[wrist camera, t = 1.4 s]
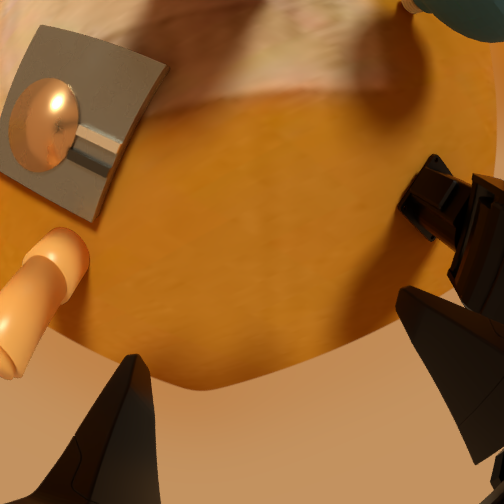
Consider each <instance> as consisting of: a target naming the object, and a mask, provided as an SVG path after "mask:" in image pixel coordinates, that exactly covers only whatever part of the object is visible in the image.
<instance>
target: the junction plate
mask: <svg viewBox="0 0 504 504" xmlns="http://www.w3.org/2000/svg"><path fill="white" fill-rule="evenodd" d="M169 69H170V68H169V67H168V66H167V65H166V64H163V63H161V62H159V61H156V60H154V59H152V58H149V57H147V56H144V55H142V54H139V53H137V52H134V51H131V50H129V49H126V48H123V47H120V46H118V45H115V44H112V43H109V42H106V41H103V40H99V39H96V38H93V37H90V36H86V35H83V34H79V33H75V32H71V31H67V30H63V29H59V28H55V27H50V26H45V25H40V27H39V28H38V30H37V32H36V34H35V35H34V37H33V39H32V41H31V43H30V45H29V47H28V49H27V51H26V53H25V55H24V57H23V59H22V61H21V64H20V66H19V68H18V70H17V73H16V75H15V78H14V80H13V83H12V85H11V88H10V90H9V93H8V96H7V99H6V102H5V105H4V108H3V111H2V114H1V118H0V172H2V173H4V174H5V175H7V176H9V177H10V178H12V179H14V180H15V181H17V182H19V183H20V184H22V185H24V186H26V187H27V188H29V189H31V190H33V191H34V192H36V193H38V194H40V195H41V196H43V197H45V198H47V199H49V200H50V201H52V202H54V203H56V204H58V205H59V206H61V207H63V208H65V209H67V210H69V211H70V212H72V213H74V214H76V215H78V216H80V217H82V218H84V219H86V220H87V221H89V222H91V223H92V222H93V221H94V220H95V218H96V217H97V216H98V215H99V213H100V210H101V207H102V205H103V202H104V199H105V197H106V194H107V191H108V189H109V186H110V184H111V181H112V179H113V176H114V174H115V171H116V169H117V167H118V164H119V162H120V160H121V158H122V155H123V153H124V151H125V149H126V147H127V145H128V143H129V140H130V138H131V136H132V134H133V132H134V130H135V128H136V126H137V124H138V123H139V121H140V119H141V117H142V115H143V113H144V111H145V109H146V108H147V106H148V104H149V102H150V100H151V99H152V97H153V95H154V94H155V92H156V90H157V88H158V87H159V85H160V84H161V82H162V80H163V79H164V77H165V75H166V74H167V72H168V71H169Z"/></svg>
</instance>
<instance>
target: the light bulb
mask: <svg viewBox="0 0 504 504" xmlns="http://www.w3.org/2000/svg"><path fill="white" fill-rule="evenodd" d="M401 2H402V5H403V6H404V8H405V9H406V10H407V11H408V12H410V13H412V14H416V13H419V12H423V11H424V12H426V13H433V14H434V15H435V16H436V17H437V18H438V19H439V20H440V21H442V22H443V23H444V24H446V25H447V26H448V27H450V28H451V29H453V30H454V31H456V32H458V33H460V34H462V35H464V36H466V37H468V38H471V39H474V40H478V41H481V42H488V43H495V42H504V0H402V1H401Z"/></svg>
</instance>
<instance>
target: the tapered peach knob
mask: <svg viewBox="0 0 504 504" xmlns="http://www.w3.org/2000/svg"><path fill="white" fill-rule="evenodd" d="M89 263H90V257H89V252H88V249H87V247H86V245H85V243H84V242H83V240H82V239H81V238H80V237H79V236H78V235H77V234H76V233H75V232H73V231H72V230H70V229H67V228H62V227H59V228H55V229H53V230H51V231H50V232H49V233H48V234H47V235H46V236H44V237H43V238H42V239H41V240H40V241H39V242H38V243H37V244H36V245H35V246H34V247H33V248H32V249H31V250H30V251H29V252H28V253H27V254H26V255H25V257H24V259H23V262H22V267H21V268H20V269H19V270H18V271H17V272H16V274H15V275H14V276H13V277H12V278H11V279H10V281H9V282H8V283H7V284H6V285H5V287H4V288H3V289H2V290H1V291H0V377H2V378H4V379H7V380H12V379H13V378H21V377H22V376H23V374H24V372H25V369H26V367H27V365H28V363H29V361H30V359H31V357H32V355H33V353H34V351H35V348H36V347H37V345H38V343H39V341H40V339H41V337H42V335H43V333H44V332H45V330H46V328H47V326H48V324H49V323H50V321H51V319H52V317H53V316H54V314H55V312H56V310H57V309H58V307H59V305H62V304H64V303H66V302H67V301H68V300H69V298H70V297H71V295H72V294H73V292H74V290H75V289H76V287H77V285H78V284H79V282H80V281H81V279H82V278H83V276H84V274H85V273H86V271H87V270H88V267H89Z"/></svg>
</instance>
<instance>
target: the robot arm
mask: <svg viewBox="0 0 504 504" xmlns="http://www.w3.org/2000/svg"><path fill="white" fill-rule="evenodd" d="M403 206H405V207H404V209H403ZM398 210H399V211H400V212H401V213H402V214H403V215H404V216H405V217H406V218H407V219H408V220H409V221H410V222H411V223H412V224H413V225H414V226H415V227H416V228H417V229H418V230H419V231H420V232H421V233H422V234H423V235H424V236H425V237H426V238H427V239H428V240H429V241H430V242H432V241H434V240H435V238H436V237H437V238H438V239H439V240H441V241H442V242H443V243H444V244H446V245H447V246H448V247H449V248H451V249H452V250H453V251H454V252H455V255H454V258H453V261H452V264H451V267H450V268H449V270H448V273H447V276H448V278H449V280H450V281H451V283H452V285H453V287H454V288H455V290H456V292H457V294H458V296H459V298H460V300H461V302H462V303H463V305H464V307H465V308H464V307H461V306H459V305H457V304H454V303H452V302H450V301H447V300H445V299H442V298H440V297H438V296H435V295H433V294H430V293H428V292H425V291H423V290H420V289H418V288H416V287H413V286H410V285H409V286H405V287H403V288H401V289H400V290H399V293H398V297H397V301H396V306H395V308H396V312H397V314H398V316H399V318H400V320H401V322H402V324H403V326H404V327H405V330H406V332H407V334H408V336H409V338H410V340H411V342H412V344H413V345H414V347H415V349H416V351H417V353H418V354H419V356H420V358H421V359H422V361H423V363H424V364H425V366H426V368H427V369H428V371H429V373H430V375H431V377H432V378H433V380H434V382H435V384H436V386H437V387H438V389H439V391H440V393H441V395H442V397H443V399H444V401H445V402H446V404H447V406H448V408H449V410H450V412H451V414H452V416H453V418H454V420H455V422H456V424H457V426H458V429H459V431H460V433H461V435H462V437H463V440H464V441H465V444H466V446H467V448H468V451H469V453H470V455H471V458H472V460H473V463H474V464H475V465H477V464H478V463H480V462H482V461H483V460H485V459H486V458H488V457H489V456H491V455H492V454H494V453H495V452H497V451H498V450H500V449H501V448H502V447H504V181H503V180H501V179H498V178H494V177H490V176H485V175H480V174H475V173H473V175H472V185H471V184H469V183H466V182H464V181H462V180H460V179H458V178H456V177H453V175H452V174H451V172H450V171H449V169H448V168H447V166H446V165H445V164H444V162H443V161H442V160H441V158H440V157H439V156H438V155H436V154H432V155H431V156H430V158H429V160H428V161H427V163H426V164H425V166H424V167H423V169H422V171H421V172H420V174H419V175H418V177H417V178H416V180H415V181H414V183H413V184H412V186H411V187H410V189H409V190H408V192H407V193H406V195H405V196H404V198H403V199H402V201H401V202H400V203H399V205H398ZM156 457H157V456H156V437H155V413H154V405H153V396H152V388H151V378H150V372H149V369H148V367H147V366H146V364H145V363H144V361H143V360H142V358H141V356H140V355H139V354H130V355H127V356H125V358H124V359H123V361H122V362H121V364H120V365H119V367H118V368H117V369H116V371H115V372H114V374H113V376H112V377H111V378H110V380H109V381H108V383H107V384H106V386H105V387H104V389H103V391H102V392H101V394H100V395H99V397H98V398H97V400H96V401H95V403H94V404H93V406H92V407H91V409H90V411H89V412H88V414H87V415H86V417H85V419H84V420H83V422H82V423H81V425H80V426H79V428H78V430H77V431H76V433H75V436H73V438H72V439H71V441H70V443H69V444H68V446H67V447H66V449H65V451H64V452H63V454H62V455H61V457H60V458H59V459H58V461H57V462H56V464H55V465H54V467H53V468H52V469H51V471H50V472H49V473H48V475H47V476H46V477H45V479H44V480H43V481H42V483H41V484H40V485H39V487H38V488H37V489H36V490H35V491H34V492H33V493H32V494H30V495H29V496H27V497H24V498H21V499H18V500H15V501H12V502H9V503H5V504H161V501H160V492H159V482H158V470H157V458H156ZM490 483H491V485H492V487H493V489H494V491H493V492H492V493H491V494H490V495H489V496H487V497H486V498H485V499H484V500H483V501H482V502H481V503H480V504H504V449H503V450H502V451H501V452H500V453H499V454H498V455H497V456H496V458H495V463H494V468H493V472H492V476H491V480H490Z"/></svg>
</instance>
